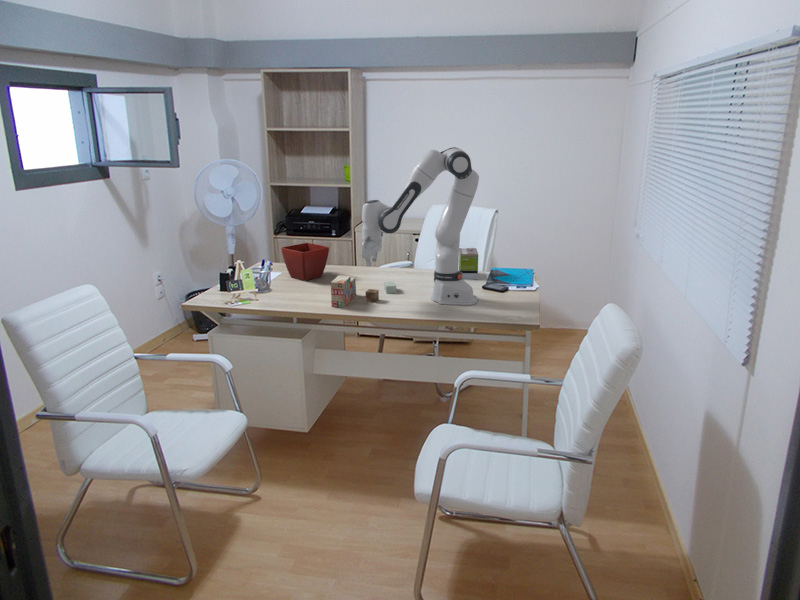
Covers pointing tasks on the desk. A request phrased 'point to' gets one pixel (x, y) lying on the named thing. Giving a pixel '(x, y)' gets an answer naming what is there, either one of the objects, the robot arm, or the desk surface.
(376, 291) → the walnut cube
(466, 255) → the tea box
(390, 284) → the sage block
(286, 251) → the plant pot
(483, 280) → the desk surface
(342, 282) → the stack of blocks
